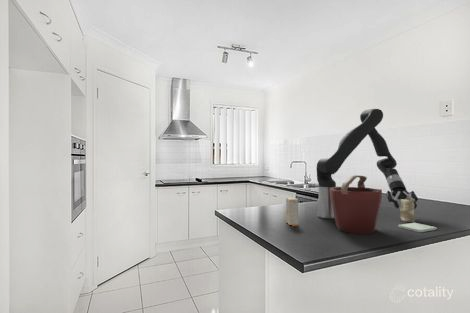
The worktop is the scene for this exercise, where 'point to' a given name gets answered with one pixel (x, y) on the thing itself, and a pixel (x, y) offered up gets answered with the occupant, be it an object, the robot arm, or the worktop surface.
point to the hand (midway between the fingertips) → (406, 207)
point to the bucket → (356, 206)
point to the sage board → (417, 227)
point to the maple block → (407, 210)
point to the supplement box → (292, 211)
